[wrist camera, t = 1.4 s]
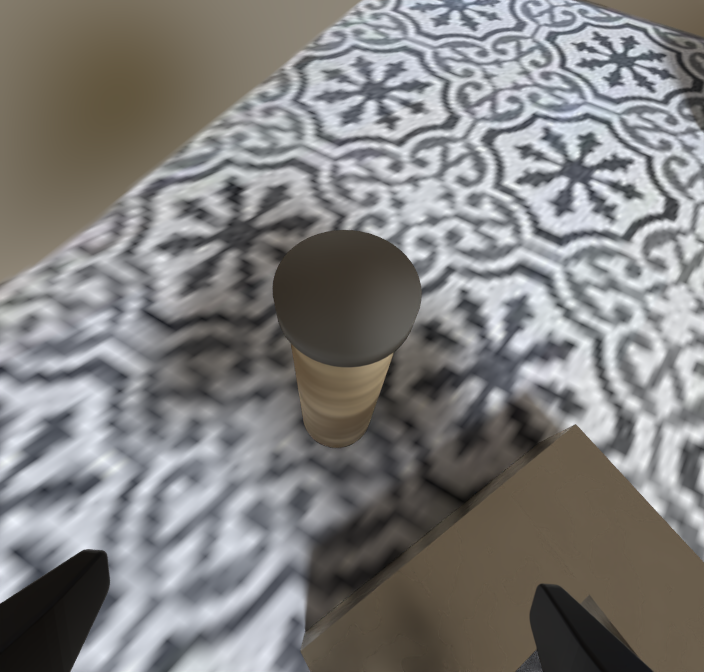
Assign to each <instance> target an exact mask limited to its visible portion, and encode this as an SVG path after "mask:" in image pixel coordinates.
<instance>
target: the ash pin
mask: <svg viewBox="0 0 704 672" xmlns="http://www.w3.org/2000/svg"><path fill="white" fill-rule="evenodd" d="M421 294H422V292H421V284H420V280H419V276H418V274H417V272H416V269H415V268H414V266H413V264H412V263H411V261H410V260H409V259H408V258H407V256H406V255H405V254H404V253H403V252H402V251H401V250H399V249H398V248H397V247H396V246H394V245H393V244H391V243H390V242H388V241H386V240H384V239H382V238H380V237H378V236H375V235H372V234H369V233H365V232H360V231H353V230H337V231H329V232H324V233H320V234H317V235H314V236H312V237H309V238H307V239H306V240H304V241H302V242H300V243H299V244H297V245H296V246H295V247H293V248H292V249H291V250H290V251H289V252H288V253H287V254H286V255H285V257H284V258H283V259H282V261H281V262H280V264H279V266H278V268H277V270H276V273H275V276H274V280H273V298H274V303H275V308H276V313H277V318H278V322H279V325H280V327H281V330H282V331H283V333H284V335H285V337H286V338H287V339H288V340H289V342H290V343H291V347H292V353H293V359H294V366H295V372H296V378H297V384H298V391H299V397H300V403H301V409H302V415H303V421H304V425H305V428H306V430H307V432H308V433H309V434H310V436H311V437H312V438H313V439H314V440H315V441H317V442H318V443H320V444H322V445H324V446H327V447H332V448H341V447H346V446H349V445H351V444H353V443H355V442H356V441H358V440H359V439H360V438H361V437H362V436H363V435H364V433H365V432H366V430H367V428H368V426H369V423H370V420H371V417H372V414H373V411H374V408H375V405H376V403H377V400H378V397H379V394H380V391H381V388H382V385H383V382H384V379H385V376H386V374H387V371H388V368H389V365H390V362H391V359H392V356H393V353H394V352H395V351H396V350H397V349H398V348H399V347H400V346H401V345H402V344H403V343H404V341H405V340H406V339H407V337H408V335H409V334H410V332H411V329H412V326H413V324H414V321H415V319H416V316H417V314H418V311H419V308H420V304H421Z"/></svg>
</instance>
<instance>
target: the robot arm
mask: <svg viewBox="0 0 704 672" xmlns="http://www.w3.org/2000/svg"><path fill="white" fill-rule="evenodd" d="M109 586H110V575H109V566H108V557H107V553H106V552H105V551H103V550H92V549H86V550H83V551H81V552H79V553H78V554H76V555H75V556H73V557H71V558H70V559H68V560H67V561H65V562H64V563H62V564H61V565H59V566H58V567H56V568H54V569H53V570H51V571H50V572H48V573H47V574H45V575H44V576H42V577H41V578H39V579H38V580H36V581H34V582H33V583H31V584H30V585H28V586H27V587H25V588H24V589H22V590H21V591H19V592H17V593H16V594H14V595H13V596H11V597H10V598H8V599H7V600H5V601H4V602H2V603H0V672H70V671H71V669H72V667H73V665H74V663H75V661H76V659H77V657H78V655H79V653H80V650H81V648H82V646H83V644H84V642H85V640H86V638H87V636H88V634H89V631H90V629H91V627H92V625H93V623H94V621H95V619H96V617H97V614H98V612H99V610H100V608H101V606H102V604H103V602H104V600H105V597H106V595H107V593H108V590H109ZM529 619H530V625H531V629H532V633H533V637H534V640H535V644H536V648H537V651H538V655H539V658H540V662H541V666H542V669H543V672H654V671H653V670H652V669H651V668H650V667H648V666H647V665H646V664H645V663H644V662H643V661H642V660H641V659H640V658H639V657H638V656H636V655H635V654H634V653H633V652H632V651H631V650H630V649H629V648H628V647H627V646H626V645H624V644H623V643H622V642H621V641H620V640H619V639H618V638H617V637H616V636H615V635H614V634H612V633H611V632H610V631H609V630H608V629H607V628H606V627H605V626H604V625H603V624H602V623H600V622H599V621H598V620H597V619H596V618H595V617H594V616H593V615H592V614H591V613H590V612H588V611H587V610H586V609H585V608H584V607H583V606H582V605H581V604H580V603H579V602H578V601H576V600H575V599H574V598H573V597H572V596H571V595H570V594H569V593H568V592H567V591H566V590H564V589H563V588H562V587H561V586H559V585H556V584H544V583H541V584H539V585H538V586H537V588H536V591H535V595H534V598H533V602H532V605H531V609H530V614H529Z"/></svg>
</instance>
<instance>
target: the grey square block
mask: <svg viewBox="0 0 704 672" xmlns="http://www.w3.org/2000/svg"><path fill="white" fill-rule="evenodd" d="M541 583H544V584H556V585H559V586H561V587H562V588H563V589H564V590H566V591H567V592H568V593H569V594H570V595H571V596H572V597H573V598H574V599H575V600H576V601H578V602H579V603H580V604H581V605H582V606H583V607H584V608H585V609H586V610H587V611H588V612H590V613H591V614H592V615H593V616H594V617H595V618H596V619H597V620H598V621H599V622H600V623H602V624H603V625H604V626H605V627H606V628H607V629H608V630H609V631H610V632H611V633H612V634H614V635H615V636H616V637H617V638H618V639H619V640H620V641H621V642H622V643H623V644H624V645H626V646H627V647H628V648H629V649H630V650H631V651H632V652H633V653H634V654H635V655H636V656H638V657H639V658H640V659H641V660H642V661H643V662H644V663H645V664H646V665H647V666H648V667H650V668H651V669H652V670H653V671H654V672H704V562H703V561H702V560H701V559H700V558H699V557H698V556H697V555H696V554H695V553H694V551H693V550H692V549H691V548H690V547H689V546H688V545H687V544H686V543H685V542H684V541H683V540H682V539H681V537H680V536H679V535H678V534H677V533H676V532H675V531H674V530H673V529H672V528H671V527H670V526H669V524H668V523H667V522H666V521H665V520H664V519H663V518H662V517H661V516H660V515H659V514H658V513H657V511H656V510H655V509H654V508H653V507H652V506H651V505H650V504H649V503H648V502H647V501H646V500H645V498H644V497H643V496H642V495H641V494H640V493H639V492H638V491H637V490H636V489H635V488H634V487H633V485H632V484H631V483H630V482H629V481H628V480H627V479H626V478H625V477H624V476H623V475H622V474H621V473H620V471H619V470H618V469H617V468H616V467H615V466H614V465H613V464H612V463H611V462H610V461H609V460H608V458H607V457H606V456H605V455H604V454H603V453H602V452H601V451H600V450H599V449H598V448H597V447H596V445H595V444H594V443H593V442H592V441H591V440H590V439H589V438H588V437H587V436H586V435H585V434H584V432H583V431H582V430H581V429H580V428H579V427H578V426H577V425H576V424H575V425H573V426H571V427H569V428H567V429H565V430H563V431H561V432H559V433H558V434H556V435H554V436H552V437H550V438H548V439H546V440H544V441H542V442H540V443H538V444H537V445H536V446H534V447H533V448H532V449H531V450H530V451H528V452H527V453H526V454H525V455H523V456H522V457H521V458H520V459H518V460H517V461H516V462H515V463H514V464H512V465H511V466H510V467H509V468H507V469H506V470H505V471H504V472H502V473H501V474H500V475H499V476H497V477H496V478H495V479H494V480H493V481H491V482H490V483H489V484H488V485H486V486H485V487H484V488H483V489H481V490H480V491H479V492H478V493H477V494H475V495H474V496H473V497H472V498H470V499H469V500H468V501H467V502H465V503H464V504H463V505H462V506H460V507H459V508H458V509H457V510H456V511H454V512H453V513H452V514H451V515H449V516H448V517H447V518H446V519H444V520H443V521H442V522H441V523H440V524H438V525H437V526H436V527H435V528H433V529H432V530H431V531H430V532H428V533H427V534H426V535H425V536H423V537H422V538H421V539H420V540H419V541H417V542H416V543H415V544H414V545H412V546H411V547H410V548H409V549H407V550H406V551H405V552H404V553H402V554H401V555H400V556H399V557H398V558H396V559H395V560H394V561H393V562H391V563H390V564H389V565H388V566H386V567H385V568H384V569H383V570H382V571H380V572H379V573H378V574H377V575H375V576H374V577H373V578H372V579H370V580H369V581H368V582H367V583H365V584H364V585H363V586H362V587H361V588H359V589H358V590H357V591H356V592H354V593H353V594H352V595H351V596H349V597H348V598H347V599H346V600H345V601H343V602H342V603H341V604H340V605H338V606H337V607H336V608H335V609H333V610H332V611H331V612H330V613H328V614H327V615H326V616H325V617H324V618H322V619H321V620H320V621H319V622H317V623H316V624H315V625H314V626H312V627H311V628H310V629H309V630H308V631H306V632H305V634H304V638H303V642H302V646H301V650H300V651H301V653H302V655H303V657H304V659H305V661H306V663H307V665H308V667H309V669H310V671H311V672H515V671H516V670H517V669H518V668H519V667H520V666H521V665H522V664H523V663H524V662H525V661H526V660H527V659H528V658H529V657H530V656H531V655H532V653H533V652H534V651H535V650H536V649H537V648H536V644H535V640H534V637H533V633H532V629H531V625H530V619H529V614H530V609H531V605H532V602H533V598H534V595H535V591H536V588H537V586H538V585H539V584H541Z"/></svg>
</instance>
